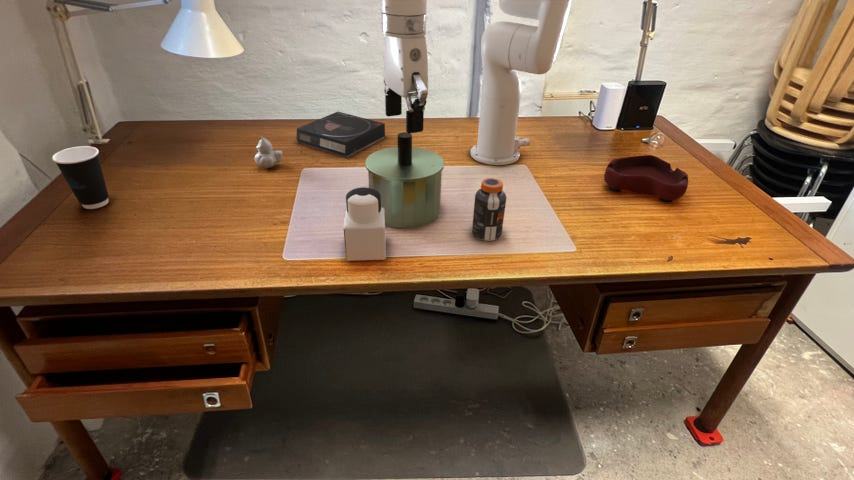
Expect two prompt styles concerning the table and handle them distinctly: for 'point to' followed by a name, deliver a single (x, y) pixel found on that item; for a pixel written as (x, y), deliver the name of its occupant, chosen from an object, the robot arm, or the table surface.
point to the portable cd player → (341, 133)
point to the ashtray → (646, 177)
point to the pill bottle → (489, 210)
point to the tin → (408, 201)
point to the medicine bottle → (364, 225)
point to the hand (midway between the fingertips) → (403, 123)
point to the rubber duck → (267, 154)
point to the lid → (404, 162)
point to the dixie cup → (83, 175)
